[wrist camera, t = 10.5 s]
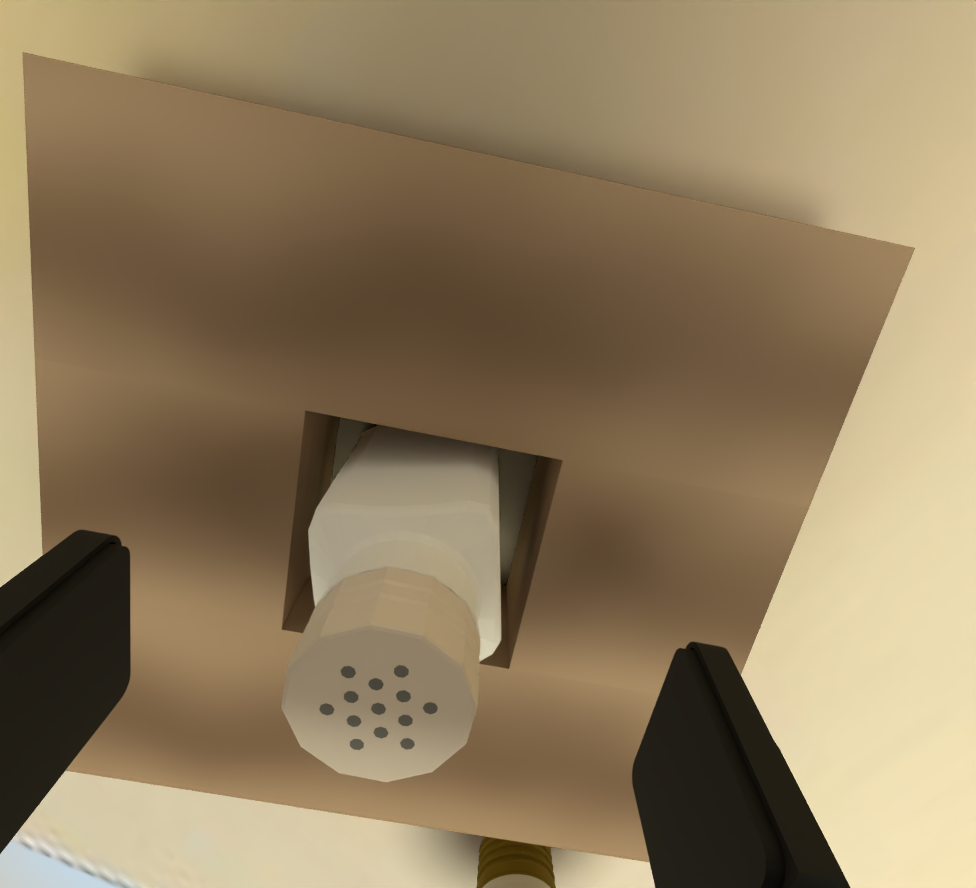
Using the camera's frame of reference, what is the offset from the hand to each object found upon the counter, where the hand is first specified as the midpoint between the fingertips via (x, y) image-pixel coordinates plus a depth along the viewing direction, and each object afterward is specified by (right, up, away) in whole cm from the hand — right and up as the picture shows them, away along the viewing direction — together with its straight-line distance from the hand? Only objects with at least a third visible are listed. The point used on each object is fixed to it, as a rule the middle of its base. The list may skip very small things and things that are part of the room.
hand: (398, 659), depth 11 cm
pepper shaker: (0, +3, +9) cm, 9 cm away
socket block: (0, +2, +9) cm, 9 cm away
